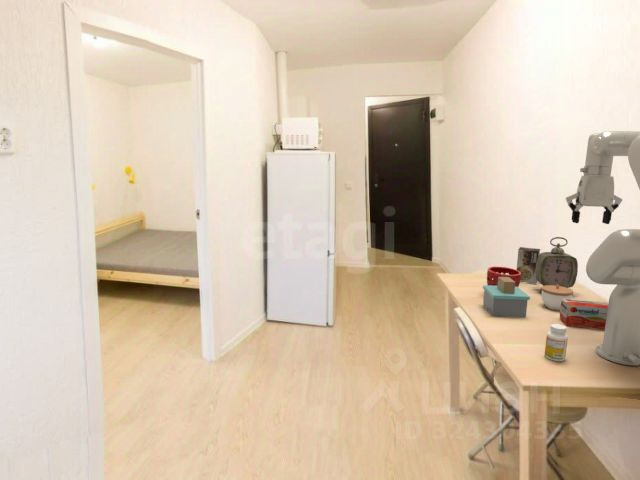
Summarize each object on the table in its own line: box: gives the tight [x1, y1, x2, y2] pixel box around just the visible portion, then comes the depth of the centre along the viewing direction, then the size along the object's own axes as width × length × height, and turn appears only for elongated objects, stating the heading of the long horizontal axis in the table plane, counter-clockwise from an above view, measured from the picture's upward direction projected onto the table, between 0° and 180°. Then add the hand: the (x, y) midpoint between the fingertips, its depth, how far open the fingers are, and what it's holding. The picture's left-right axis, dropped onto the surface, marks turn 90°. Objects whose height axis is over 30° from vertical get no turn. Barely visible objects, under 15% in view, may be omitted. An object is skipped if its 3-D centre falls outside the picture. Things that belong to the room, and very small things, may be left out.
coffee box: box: [516, 246, 541, 285], centre depth 204 cm, size 9×6×16 cm
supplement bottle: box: [544, 323, 569, 362], centre depth 124 cm, size 5×5×10 cm
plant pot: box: [486, 266, 521, 288], centre depth 179 cm, size 13×13×12 cm
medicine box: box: [559, 298, 609, 331], centre depth 150 cm, size 15×8×8 cm, turn 77°
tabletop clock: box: [535, 236, 579, 294], centre depth 186 cm, size 14×9×25 cm, turn 80°
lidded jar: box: [541, 285, 574, 311], centre depth 167 cm, size 11×11×9 cm
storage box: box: [482, 289, 529, 318], centre depth 163 cm, size 12×12×7 cm
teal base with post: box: [482, 277, 531, 301], centre depth 161 cm, size 13×13×7 cm
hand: (590, 223), depth 143 cm, fingers open, 9 cm apart
